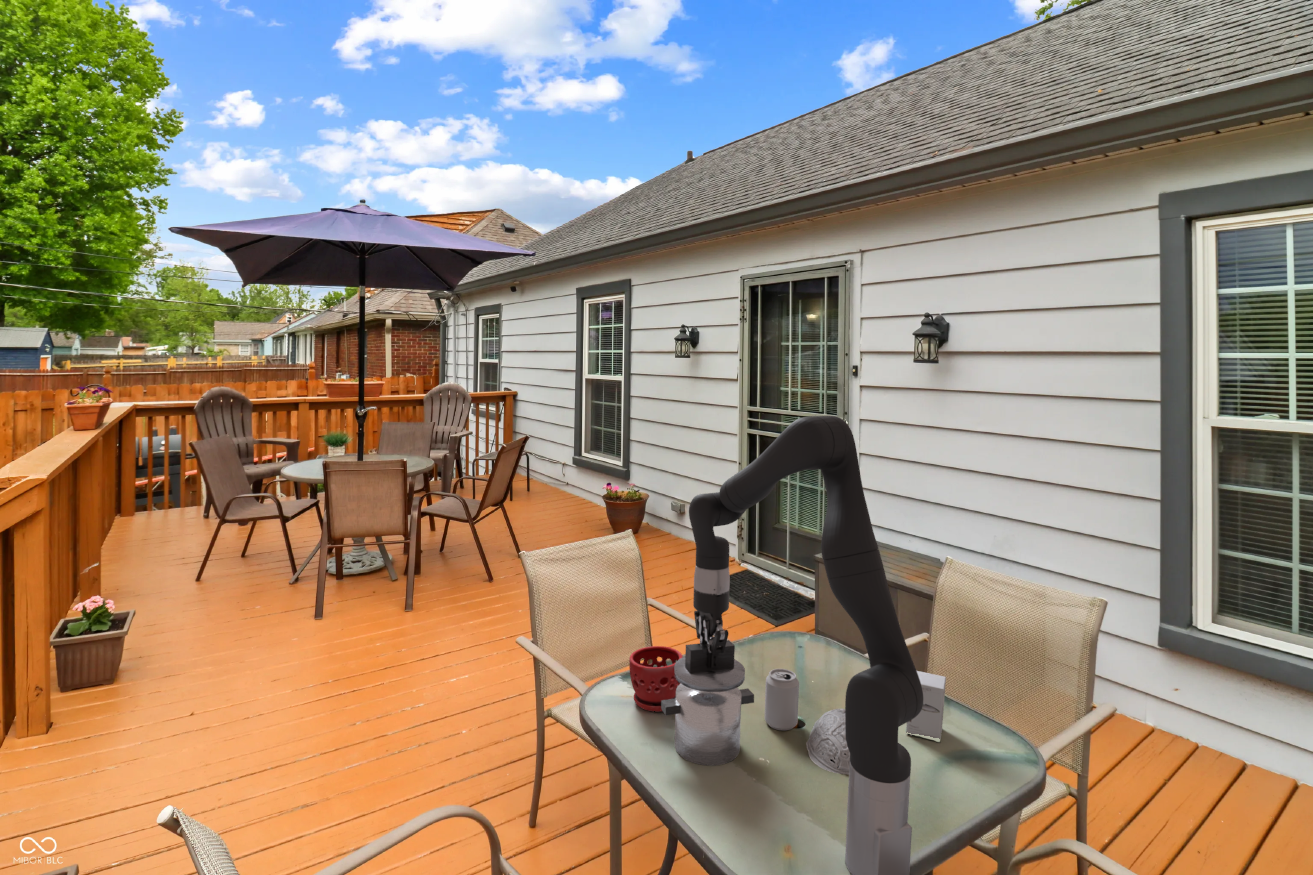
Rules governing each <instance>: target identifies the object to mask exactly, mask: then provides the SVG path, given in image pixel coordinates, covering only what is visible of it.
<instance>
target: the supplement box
mask: <svg viewBox="0 0 1313 875" xmlns="http://www.w3.org/2000/svg"><path fill="white" fill-rule="evenodd" d="M916 671H917V674H918V676H919V679H920V683H921V686H922V690H923V706H922V710H921V712H920V713H919V714H918V715H917V716H916V717H915V718H914V719H912V720H910V721H909V722H907V723H906V730H905V734H906V733H907V732H908V733H911V734H919V735H924V736H930V737H933V738H939V739H941V740H942V734H941V733H942V732H943V724H944V723H943V721H944V710H945V709H944V707H945V694H946V684H947V676H943V675H939V674H934V673H929V672H924V671H918V670H916Z"/></svg>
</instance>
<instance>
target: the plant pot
mask: <svg viewBox="0 0 1313 875" xmlns="http://www.w3.org/2000/svg"><path fill="white" fill-rule="evenodd" d="M682 657H684V656H683V654H682V653H681V652H680V651H679V650H677V649H676V648H672V647H669V646H662V645H661V646H660V645H654V646H653V645H652V646H645V647H641V648H639V649H637V650H634V651H633V652H632V653H631V654H630V656H629V660H628V661H629V663H628V664H629V665H628V666H629V676H630V682H631V685H632V688H633V691H634V693H633V700H634V703H635V704H636V705H637V706H638V707H639V708H641V709H643V710H645V711H649V712H654V711H655V712H654V713H657V712H658V713H659V712H663V711H662V709H661V700H668V699H675V698H676V688H677V687H678V685H680V684H681V683H679V682H678V681H677V680H676V678H675V676H674V666H675V663H676V662H677V661H678V660H679V659H681V658H682ZM658 658H661V661H659V660H658ZM642 659H643V662H641V661H642ZM668 659H669V660H670V661H671V664H669V665H668V663H667V660H668ZM649 660H651V663H650V664H649V663H648V662H649ZM654 666H655V667H654Z"/></svg>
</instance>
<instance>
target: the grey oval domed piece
mask: <svg viewBox="0 0 1313 875" xmlns="http://www.w3.org/2000/svg"><path fill="white" fill-rule="evenodd" d="M805 744H806V750H807V751H808V757H809V759H810V760H811V762H813V763H814V764H815V765H816V766H818V767H819V768H821V769H822V770H825V771H826V772H827V771H828V772H830V773H834V774H839V775H847V776H849V764H850V752H849V749H848V746H847V742H846V734H845V708H834V709H831V710H829V711H825V712H824V713H823V714H822V715H821V716H820V717H819V718H818V719H817V720H816V721H815V722H814V724H813V727H812V729H811V731H810V734H809V738H808V739H807V741H806V742H805ZM831 760H832V761H831Z"/></svg>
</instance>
